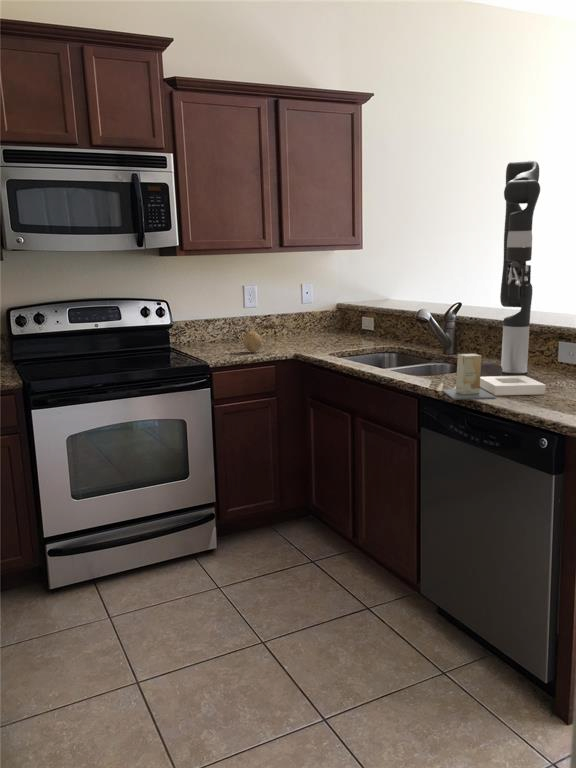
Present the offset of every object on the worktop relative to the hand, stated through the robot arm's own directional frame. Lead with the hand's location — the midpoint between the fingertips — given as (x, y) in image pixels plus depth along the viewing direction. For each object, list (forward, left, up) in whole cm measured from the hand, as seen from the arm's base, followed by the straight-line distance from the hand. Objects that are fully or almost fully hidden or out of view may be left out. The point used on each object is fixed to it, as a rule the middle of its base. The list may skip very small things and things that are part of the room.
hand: (516, 297), depth 211 cm
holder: (+4, -2, -30) cm, 30 cm away
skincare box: (+10, -18, -29) cm, 36 cm away
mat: (+10, -18, -30) cm, 36 cm away
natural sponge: (-92, -86, -30) cm, 130 cm away
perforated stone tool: (-12, -5, -30) cm, 33 cm away
